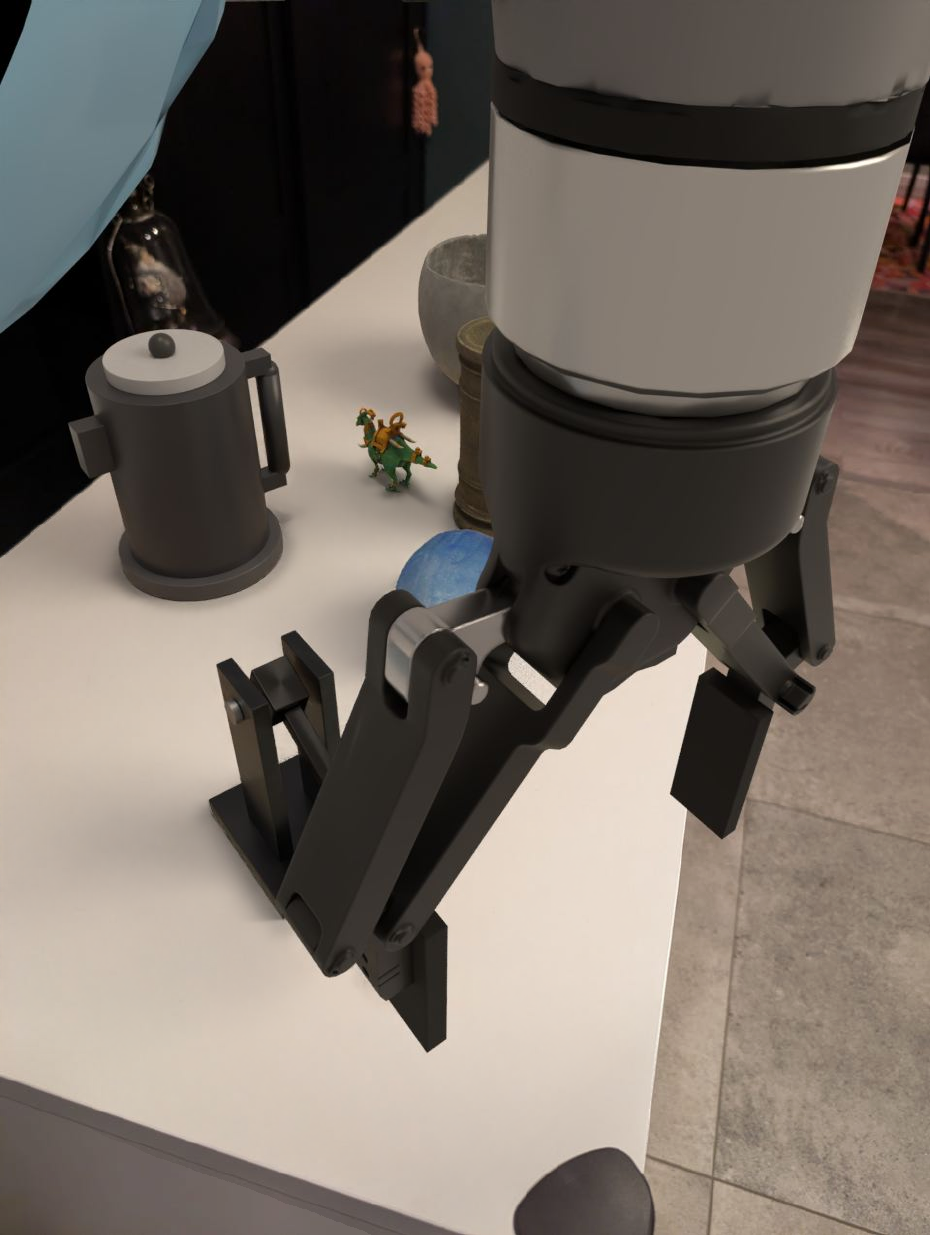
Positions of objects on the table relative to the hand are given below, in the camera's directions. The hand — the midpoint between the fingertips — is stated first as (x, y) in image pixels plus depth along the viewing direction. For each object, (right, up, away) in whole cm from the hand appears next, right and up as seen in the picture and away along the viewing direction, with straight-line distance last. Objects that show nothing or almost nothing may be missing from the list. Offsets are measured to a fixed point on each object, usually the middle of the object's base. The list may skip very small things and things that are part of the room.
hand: (570, 903), depth 34 cm
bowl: (+1, +37, +76) cm, 85 cm away
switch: (-11, 0, +20) cm, 23 cm away
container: (0, +20, +57) cm, 60 cm away
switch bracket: (-14, -4, +29) cm, 32 cm away
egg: (-4, +10, +45) cm, 46 cm away
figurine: (-10, +23, +60) cm, 65 cm away
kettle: (-27, +16, +52) cm, 60 cm away
